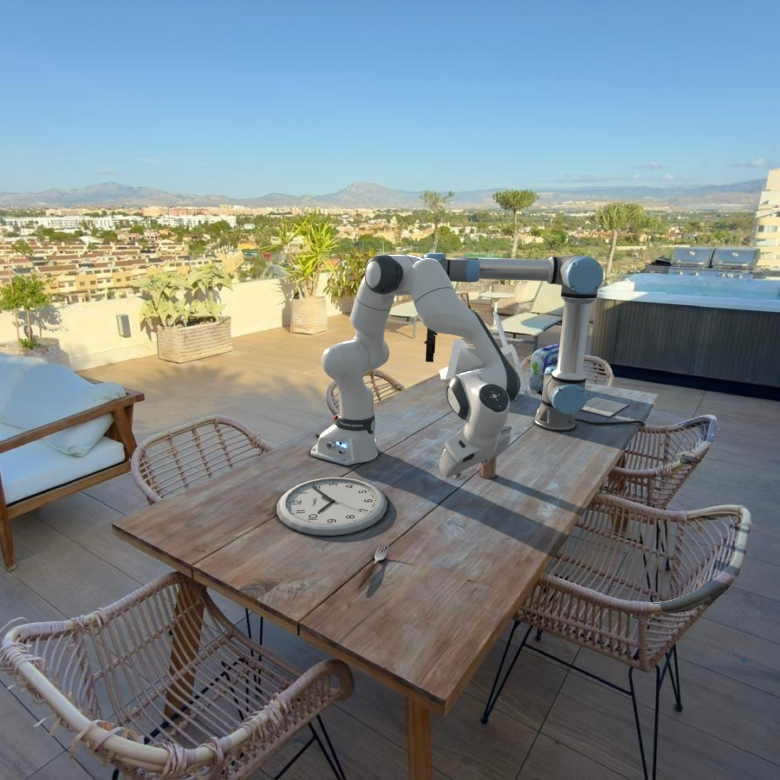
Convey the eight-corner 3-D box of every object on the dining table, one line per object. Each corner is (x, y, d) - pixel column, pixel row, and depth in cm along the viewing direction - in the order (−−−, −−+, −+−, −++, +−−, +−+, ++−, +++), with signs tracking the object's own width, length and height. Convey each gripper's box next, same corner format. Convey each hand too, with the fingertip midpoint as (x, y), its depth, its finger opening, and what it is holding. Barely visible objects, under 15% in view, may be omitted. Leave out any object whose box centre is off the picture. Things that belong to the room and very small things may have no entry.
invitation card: (608, 416, 214) (573, 407, 224) (608, 416, 214) (573, 408, 224) (628, 404, 229) (594, 396, 238) (628, 405, 229) (594, 397, 238)
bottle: (477, 473, 163) (482, 416, 157) (489, 470, 165) (493, 414, 159) (486, 479, 159) (491, 421, 153) (498, 476, 161) (503, 419, 155)
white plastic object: (461, 429, 252) (437, 405, 227) (444, 352, 274) (420, 323, 250) (535, 404, 240) (518, 377, 215) (510, 326, 262) (492, 293, 237)
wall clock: (392, 527, 129) (268, 531, 127) (391, 533, 130) (269, 537, 127) (383, 473, 158) (282, 475, 155) (383, 478, 158) (282, 480, 156)
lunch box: (545, 397, 238) (550, 352, 231) (524, 391, 245) (529, 348, 239) (572, 386, 255) (578, 344, 249) (552, 381, 262) (557, 340, 256)
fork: (352, 589, 110) (352, 581, 109) (380, 547, 124) (380, 540, 123) (364, 592, 109) (364, 583, 108) (390, 550, 123) (390, 542, 123)
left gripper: (505, 414, 135) (493, 446, 145) (439, 443, 127) (432, 475, 137) (520, 432, 131) (507, 463, 142) (454, 463, 124) (445, 493, 134)
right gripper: (424, 293, 195) (422, 349, 202) (419, 302, 172) (417, 365, 178) (444, 294, 195) (441, 350, 201) (442, 303, 171) (439, 366, 177)
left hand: (470, 469), depth 139 cm, fingers open, 8 cm apart
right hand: (430, 357), depth 190 cm, fingers open, 13 cm apart
